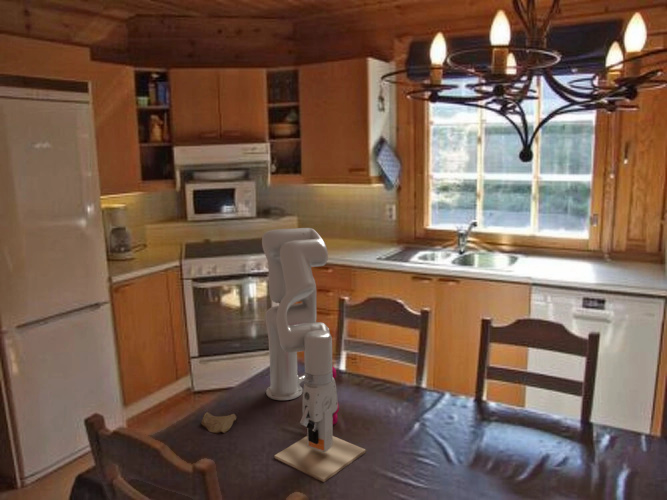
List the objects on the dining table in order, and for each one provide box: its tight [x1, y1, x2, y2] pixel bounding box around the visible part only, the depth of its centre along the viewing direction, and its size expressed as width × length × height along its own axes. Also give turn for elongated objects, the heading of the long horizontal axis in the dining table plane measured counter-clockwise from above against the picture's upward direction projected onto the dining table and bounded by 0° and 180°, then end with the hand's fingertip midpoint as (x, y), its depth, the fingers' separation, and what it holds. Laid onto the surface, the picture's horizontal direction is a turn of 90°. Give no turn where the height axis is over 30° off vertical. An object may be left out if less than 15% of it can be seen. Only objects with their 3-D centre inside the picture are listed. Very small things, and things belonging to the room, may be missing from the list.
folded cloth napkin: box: [274, 435, 367, 483], centre depth 153 cm, size 18×18×1 cm
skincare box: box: [306, 408, 334, 452], centre depth 151 cm, size 6×4×12 cm
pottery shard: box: [201, 412, 238, 434], centre depth 170 cm, size 11×4×10 cm
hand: (320, 437), depth 152 cm, fingers closed on skincare box, 4 cm apart
